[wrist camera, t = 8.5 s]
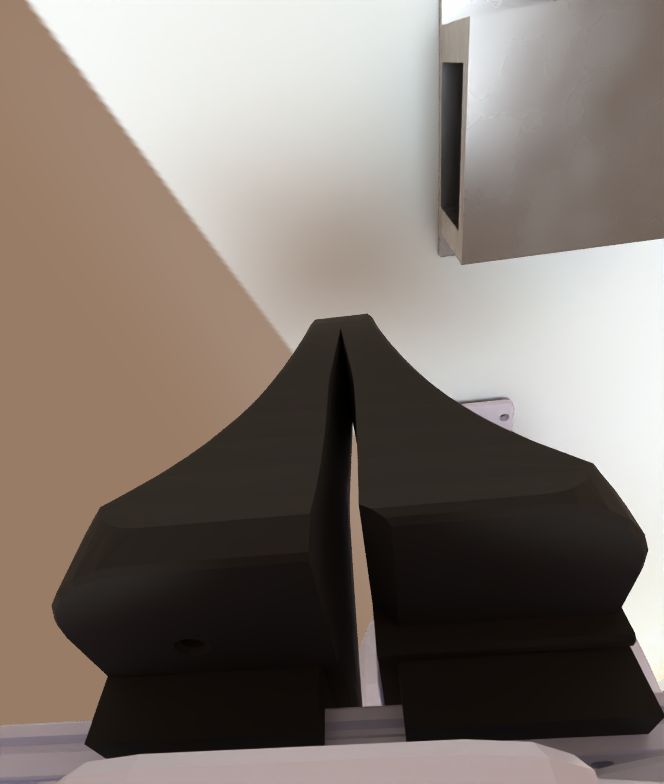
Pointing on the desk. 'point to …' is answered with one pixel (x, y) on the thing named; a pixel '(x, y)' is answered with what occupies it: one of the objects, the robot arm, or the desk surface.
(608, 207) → the collar
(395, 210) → the desk surface
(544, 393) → the desk surface
